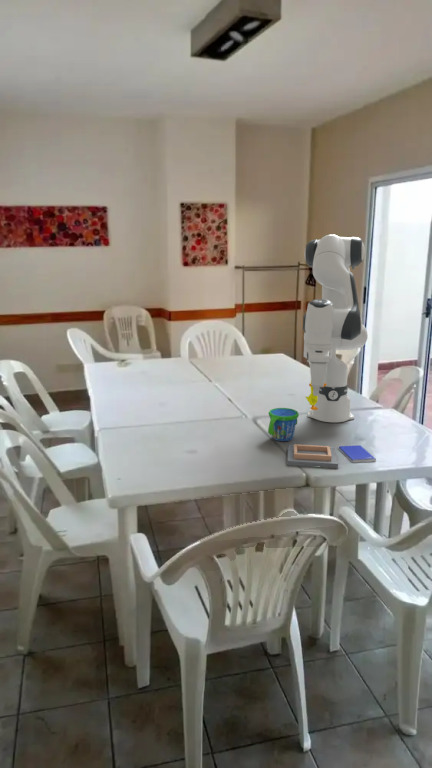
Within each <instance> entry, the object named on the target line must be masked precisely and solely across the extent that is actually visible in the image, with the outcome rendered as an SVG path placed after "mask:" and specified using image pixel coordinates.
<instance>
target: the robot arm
mask: <svg viewBox="0 0 432 768" xmlns="http://www.w3.org/2000/svg"><path fill="white" fill-rule="evenodd" d="M365 255H366V247H365V244H364V241H363V239H361V238H360V237H357V236H351V237H347V236H338V235H336V234H327V235H324V236H323V237H321V238H320V239H312V240H310V241H309V242H307V244H305V248H304V253H303V256H304V260H305V262H306V265H307V266H308V267H310V268H312V275H313V278H314V279H315V281H316V282H317V283H318V284H319V285H321V298H318V299H316V298H315V299H313V300H311V301H309V302H308V303H307V309H306V312H305V313H304V314H303V317H302V318H303V319H302V331H303V332H304V333H303V358H305V359H306V362H307V363H308V364H309V375H310V383H311V384H312V387H313V395H314V396H318V400H317V403H316V404H315V405H314V406H315V407H317V408H318V410H311V408H309V411H308V412H307V415H306V417H308V418H312V419H315V420H317V421H320V422H325V423H326V422H327V423H343V422H347V421H350V420H354V419H355V415H354V414H353V413H352V412H351V402H352V401H351V398H350V397H349V396H348V390H349V389H348V371H349V370H348V369H349V368H348V365H347V363H346V362H345V361H344V360H341V359H340V358H339V357H337V351H350V350H351V351H352V350H355V349H360V348H362V347H364V345H366V343H367V341H368V335H369V334H368V330H367V328H366V326H365V325H364V324H363V319H362V318H363V317H362V315H361V310H360V305H359V304H360V303H359V299H358V290H357V285H356V279H355V276H354V274H353V272H351V269H352V270H355V268H356V267H358V266H359V265H361V263H362V262H363V260H364V258H365ZM350 267H351V269H350ZM324 383H326V384H327V385H326V386H325V387H323V386H324Z"/></svg>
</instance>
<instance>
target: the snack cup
mask: <svg viewBox="0 0 432 768" xmlns="http://www.w3.org/2000/svg"><path fill="white" fill-rule="evenodd" d="M268 416H269V424H268V428H267V431H268V432H267V433H268V435H271V436H272V439H274V440H276V441H279V442H289V441H291V440H293V439H294V435H295V430H296V425H297V424H298V418H299V412H298V411H297V410H296V409H292V408H288V407H276V408H271V409H270V410H269V411H268Z"/></svg>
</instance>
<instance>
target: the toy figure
mask: <svg viewBox="0 0 432 768" xmlns="http://www.w3.org/2000/svg"><path fill="white" fill-rule="evenodd" d="M308 385H309V387H310V394H309V395H308V396H306V395H305V397H304V398H305V399H306V400H307V402H308V404H309V405H310V406H311V407H310V409H311V410H318V408H317V407H315V406H314V405H315V404H316V403H317V400H318V396H314V395H313V387H312V384H311V382H310V383H308ZM326 385H327V384H326V383H324V386H323V387H325V386H326Z"/></svg>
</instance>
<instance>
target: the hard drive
mask: <svg viewBox="0 0 432 768" xmlns="http://www.w3.org/2000/svg"><path fill="white" fill-rule="evenodd" d="M338 450H339V451H340V452H341V453H342V454H343V455H344V457H346V458H347V459H348V460H349V461H350V462H351V463H353V464H354V463H365V462H368V463H369V462H370V463H371V462H376V461H377V460H376V457H374V455H372V454H371V453H370V452H369V451H367V450H366V449H365V448H364V447H363V446H362V445H340V446H338Z"/></svg>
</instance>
